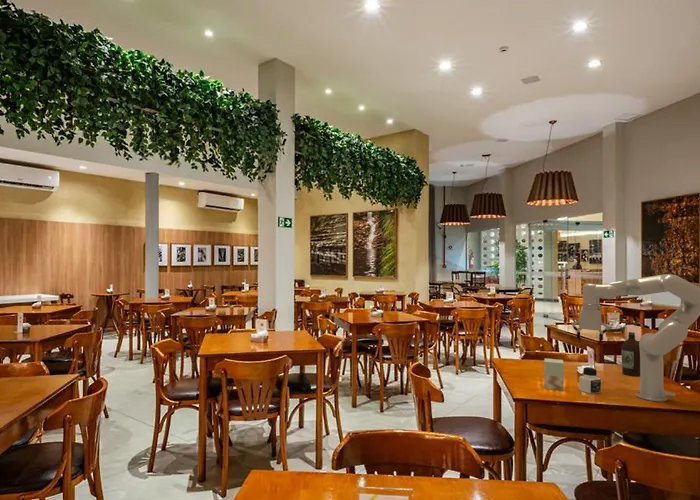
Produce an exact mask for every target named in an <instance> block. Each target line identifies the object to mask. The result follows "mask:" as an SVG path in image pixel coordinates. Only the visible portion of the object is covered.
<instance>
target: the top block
mask: <svg viewBox="0 0 700 500" xmlns="http://www.w3.org/2000/svg"><path fill="white" fill-rule="evenodd" d="M543 362H544V366H543V367H544V368H543V370H544V373H543V375H548V376H557V377H564V374H565V373H564V370H565V369H564V365H565V363H564V360H563V359H557V358H556V359H555V358H544V360H543Z"/></svg>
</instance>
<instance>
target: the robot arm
mask: <svg viewBox="0 0 700 500" xmlns="http://www.w3.org/2000/svg"><path fill="white" fill-rule="evenodd" d="M582 286H583V288H582V308H581V309H580V312H579V319H578V320H575V321H573V322H571V326H572V328H573V329H574V331H576V339H577V340H578V341H580V340H581V331H582V330H589V331H598V332H599V335H598V341H599V343H602V341H603V340H604V334H605V333H607V332H608V331H609V329H610V325H607V323H604V322H603V321H602V312H601V310H603V305H600V299H606V300H614V299H615V298H616V297H623V296H646V295H653V294H659V293H666V292H668V293H670V294H672V295H674V296H676V297H678V298H679V300H680V305H679V307H677V309H676V310H675V311H674V312H673V313H671V314H670V315H669V316H668V317H666V318H665V319H664V320H662V321H661V322H660V323H659V325H658V331H657V332H656V333H654V332H647V333H644V334H643V335H641V337H640V338H639V341H638V343H639V348H640V376H639V391H638V392H636V397H637V398H640V399H642V400H646V401H651V402H661V403H663V402H666V401H668V398H667V397H670V398H676V393H675V392H670V391H665V389H664V355H666V354H668V353H669V352H671V351H672V350H673V349H675V348H676V347H677V346H678V345H679V344H681V343H682V342H683V341H684V340H685V339H686V338H687V336H688V333H689V331H688V328H689V327H690V326H691V325H692V324H693V323H694V322H696V321H697V319H698V318H699V317H700V286H697V285H695V283H694V284H693V283H692V282H690V281H688V280H686V279H684V278H682V277H680V276H679V275H676V274H669V273H665V274H658V275H652V276H645V277H637V278H632V279H627V280H618V281H614V282H608V283H602V284H597V283H584V284H583V285H582ZM577 324H578V327H576V325H577ZM602 327H604V329H603V330H602Z"/></svg>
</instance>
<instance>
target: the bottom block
mask: <svg viewBox="0 0 700 500" xmlns="http://www.w3.org/2000/svg"><path fill="white" fill-rule="evenodd" d="M543 375H544V374H543ZM564 380H565V379H564V376H563V377H557V376H548V375H544V378H543V381H544V382H543V385H544V387H543V389H546V390H554V391H563V392H564Z"/></svg>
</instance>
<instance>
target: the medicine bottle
mask: <svg viewBox="0 0 700 500" xmlns="http://www.w3.org/2000/svg"><path fill="white" fill-rule="evenodd" d="M582 372H583V373H582V374H583V375H581V376H579V379H578V382H579V383H578V387H579V388H578V390H579V391H581V392H584V393H587V394H590V395H591V394H593V395H594V394H601V391H602V386H601V385H602V382H601V381H602V380H601V378H600V377H597V376H598V372H597V369H596V368H594V367H591V366H590V367H589V366H588V367H584V368H583V371H582Z"/></svg>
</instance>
